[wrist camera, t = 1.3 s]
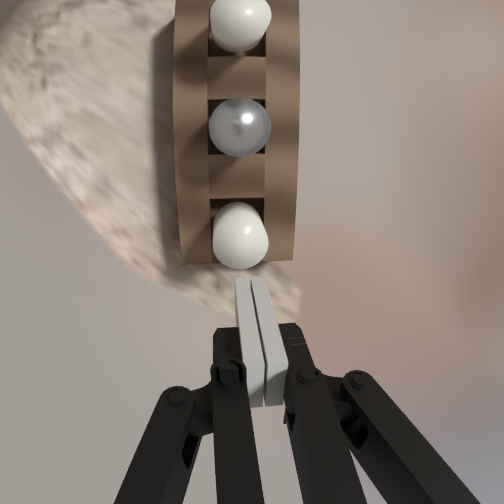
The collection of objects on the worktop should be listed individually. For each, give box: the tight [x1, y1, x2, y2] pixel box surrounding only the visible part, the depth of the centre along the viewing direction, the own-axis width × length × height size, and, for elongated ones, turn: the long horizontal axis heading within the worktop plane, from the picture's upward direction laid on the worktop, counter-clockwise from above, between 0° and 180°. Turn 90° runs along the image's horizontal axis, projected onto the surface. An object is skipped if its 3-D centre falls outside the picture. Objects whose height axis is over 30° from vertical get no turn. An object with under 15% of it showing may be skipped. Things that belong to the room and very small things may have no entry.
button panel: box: [173, 0, 300, 264], centre depth 26 cm, size 26×11×4 cm, turn 0°
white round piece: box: [210, 0, 271, 53], centre depth 18 cm, size 4×4×4 cm
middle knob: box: [209, 97, 271, 157], centre depth 22 cm, size 4×4×4 cm
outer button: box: [213, 202, 268, 269], centre depth 25 cm, size 4×4×4 cm
